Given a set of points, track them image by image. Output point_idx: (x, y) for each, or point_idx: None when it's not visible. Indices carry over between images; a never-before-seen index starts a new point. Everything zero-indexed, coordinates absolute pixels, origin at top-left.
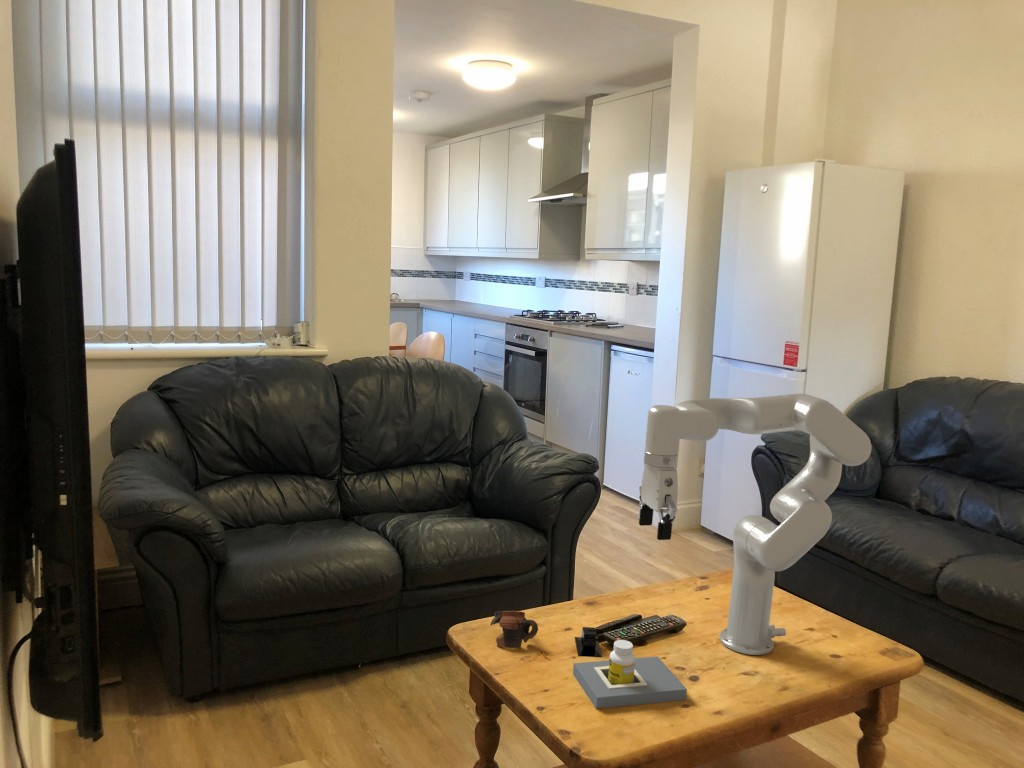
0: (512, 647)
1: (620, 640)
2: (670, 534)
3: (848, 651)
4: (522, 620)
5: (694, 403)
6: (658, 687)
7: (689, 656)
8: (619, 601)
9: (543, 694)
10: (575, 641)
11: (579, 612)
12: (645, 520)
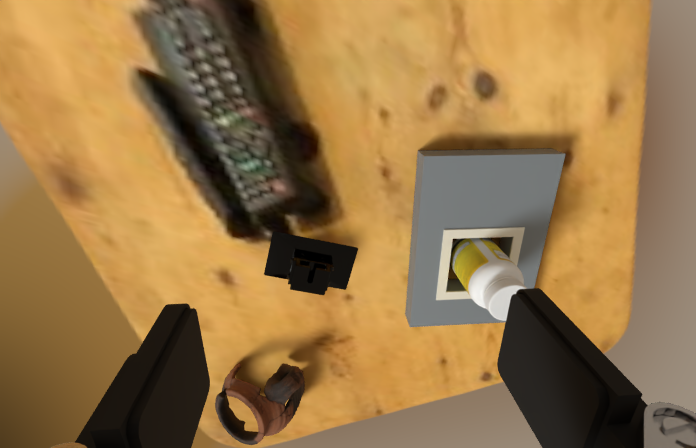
0: (304, 386)
1: (493, 304)
2: (556, 313)
3: None
4: (276, 403)
5: None
6: (538, 209)
7: (391, 41)
8: (42, 96)
9: (453, 366)
10: (284, 278)
11: (134, 230)
12: (194, 387)
